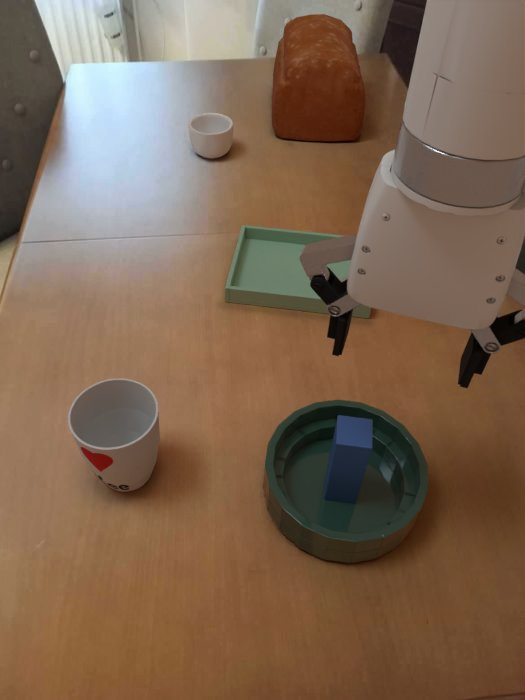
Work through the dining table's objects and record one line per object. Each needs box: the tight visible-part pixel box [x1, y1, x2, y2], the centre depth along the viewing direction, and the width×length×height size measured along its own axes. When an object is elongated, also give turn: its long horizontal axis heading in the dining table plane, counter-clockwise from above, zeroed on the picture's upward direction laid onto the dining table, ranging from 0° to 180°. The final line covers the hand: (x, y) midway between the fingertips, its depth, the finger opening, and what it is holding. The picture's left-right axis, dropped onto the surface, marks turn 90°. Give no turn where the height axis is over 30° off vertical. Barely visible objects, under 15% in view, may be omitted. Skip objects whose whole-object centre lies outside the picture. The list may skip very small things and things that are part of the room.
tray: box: [224, 224, 372, 319], centre depth 83 cm, size 19×14×2 cm
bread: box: [271, 13, 366, 142], centre depth 112 cm, size 17×24×15 cm
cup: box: [67, 377, 161, 493], centre depth 58 cm, size 8×8×10 cm
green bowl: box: [262, 399, 430, 564], centre depth 59 cm, size 16×16×5 cm
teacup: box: [187, 112, 234, 159], centre depth 105 cm, size 10×8×5 cm
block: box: [324, 415, 373, 503], centre depth 57 cm, size 3×3×10 cm
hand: (400, 358), depth 46 cm, fingers open, 9 cm apart
